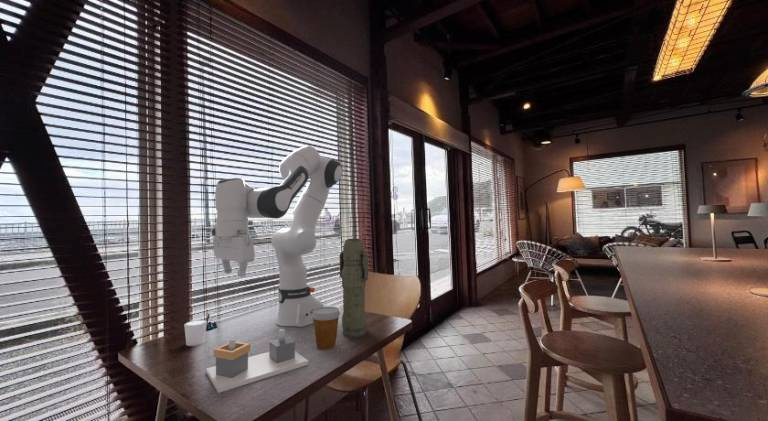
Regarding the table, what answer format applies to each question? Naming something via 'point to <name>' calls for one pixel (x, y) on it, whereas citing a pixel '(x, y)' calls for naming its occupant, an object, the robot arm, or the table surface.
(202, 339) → the white cup
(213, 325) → the bird
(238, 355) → the ring
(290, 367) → the jig plate
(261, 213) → the robot arm
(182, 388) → the table surface
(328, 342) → the disposable coffee cup
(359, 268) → the thermos
